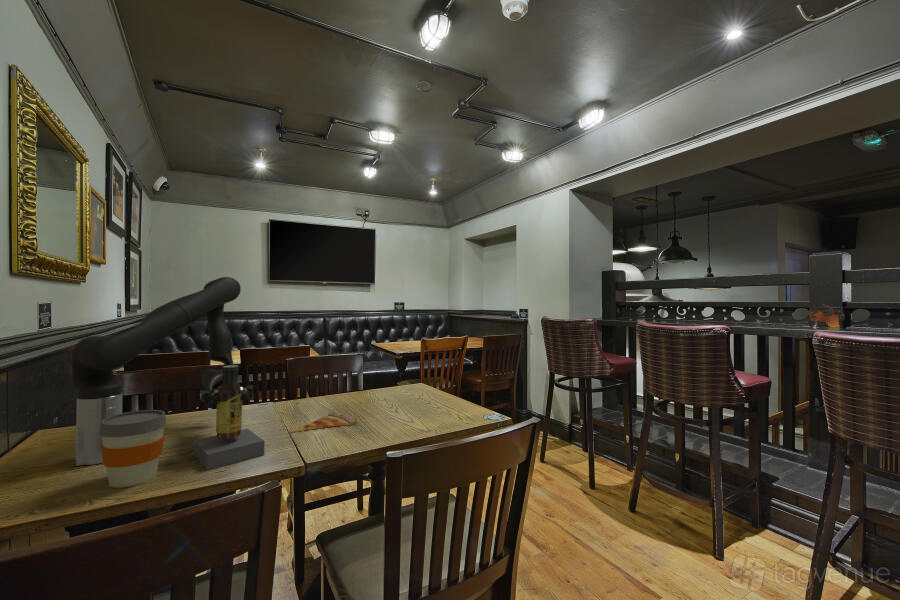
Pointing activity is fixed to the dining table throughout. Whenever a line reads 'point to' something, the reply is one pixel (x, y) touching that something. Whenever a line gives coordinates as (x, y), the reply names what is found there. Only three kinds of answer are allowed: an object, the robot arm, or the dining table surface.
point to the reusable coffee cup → (132, 446)
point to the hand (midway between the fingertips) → (231, 399)
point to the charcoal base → (228, 449)
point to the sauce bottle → (229, 404)
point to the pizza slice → (328, 422)
